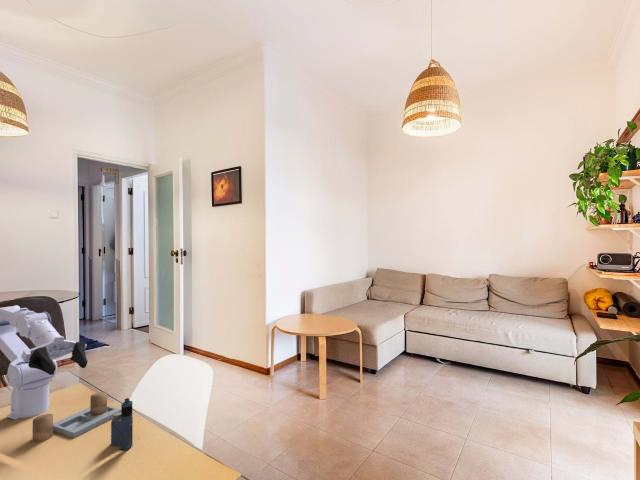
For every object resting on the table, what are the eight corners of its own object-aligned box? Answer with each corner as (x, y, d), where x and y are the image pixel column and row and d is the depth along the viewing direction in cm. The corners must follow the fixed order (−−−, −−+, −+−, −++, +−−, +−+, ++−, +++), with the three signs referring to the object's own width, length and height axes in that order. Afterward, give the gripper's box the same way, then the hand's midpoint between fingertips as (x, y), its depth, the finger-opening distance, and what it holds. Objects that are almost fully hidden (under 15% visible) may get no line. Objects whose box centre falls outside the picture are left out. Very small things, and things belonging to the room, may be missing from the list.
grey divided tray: (50, 433, 88) (50, 424, 88) (98, 410, 100) (99, 403, 100) (74, 441, 84) (74, 432, 84) (121, 417, 96) (121, 409, 96)
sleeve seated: (86, 417, 94) (86, 396, 94) (101, 410, 98) (101, 390, 98) (96, 421, 92) (96, 399, 92) (111, 413, 96) (111, 392, 96)
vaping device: (127, 451, 80) (127, 402, 80) (108, 449, 81) (108, 400, 81) (135, 445, 83) (135, 397, 83) (117, 443, 84) (117, 395, 84)
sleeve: (27, 444, 83) (27, 420, 83) (47, 435, 87) (47, 412, 87) (37, 448, 82) (38, 423, 82) (57, 438, 86) (57, 415, 86)
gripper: (20, 331, 87) (42, 360, 81) (80, 325, 100) (103, 349, 94) (11, 354, 88) (32, 385, 82) (72, 345, 101) (94, 371, 95)
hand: (69, 368), depth 88 cm, fingers open, 7 cm apart
